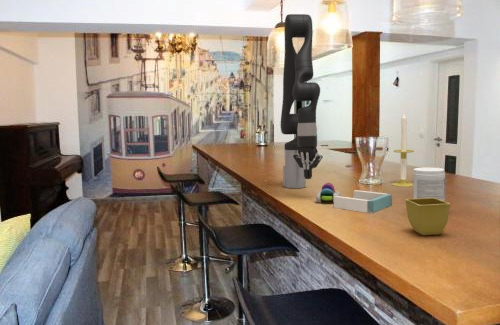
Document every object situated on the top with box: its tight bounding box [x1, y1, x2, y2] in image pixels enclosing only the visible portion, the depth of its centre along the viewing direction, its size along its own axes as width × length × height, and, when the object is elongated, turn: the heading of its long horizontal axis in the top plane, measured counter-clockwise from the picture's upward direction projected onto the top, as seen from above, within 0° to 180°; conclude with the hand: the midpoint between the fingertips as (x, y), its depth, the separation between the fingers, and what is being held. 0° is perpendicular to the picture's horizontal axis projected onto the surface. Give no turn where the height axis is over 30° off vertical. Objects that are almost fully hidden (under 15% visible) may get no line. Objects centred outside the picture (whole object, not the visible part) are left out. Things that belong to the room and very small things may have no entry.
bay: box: [333, 189, 393, 214], centre depth 153 cm, size 14×15×4 cm
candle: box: [391, 112, 415, 188], centre depth 191 cm, size 10×10×32 cm
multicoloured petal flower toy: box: [315, 182, 341, 204], centre depth 163 cm, size 8×10×7 cm
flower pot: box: [405, 198, 451, 236], centre depth 119 cm, size 9×9×9 cm
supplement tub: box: [412, 166, 446, 202], centre depth 139 cm, size 10×10×15 cm
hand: (308, 178), depth 168 cm, fingers closed
